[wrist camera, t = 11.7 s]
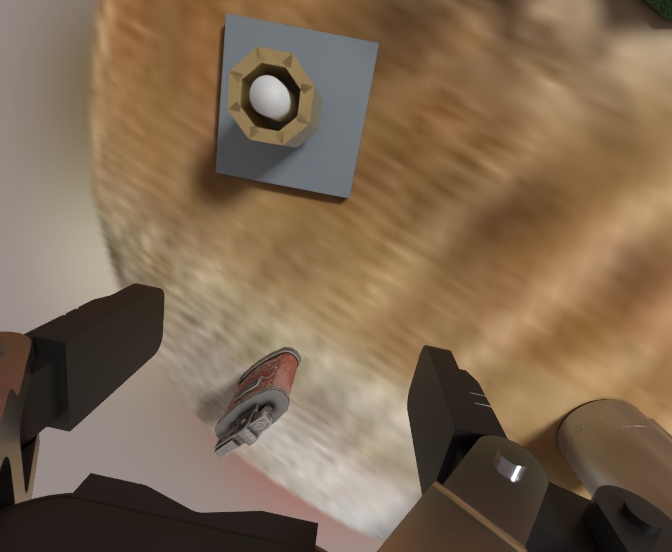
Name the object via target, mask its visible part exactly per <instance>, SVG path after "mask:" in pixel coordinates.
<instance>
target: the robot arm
mask: <svg viewBox="0 0 672 552" xmlns="http://www.w3.org/2000/svg"><path fill="white" fill-rule="evenodd" d="M163 318H164V292H163V290H162V289H160V288H156V287H151V286H146V285H142V284H137V283H135V284H132V285H130V286H128V287H126V288H124V289H122V290H120V291H118V292H117V293H115V294H113V295H110V296H106V297H103V298H98V299H94V300H92V301H90V302H88V303H86V304H84V305H82V306H80V307H79V308H78V309H74V310H72V311H70V312H68V313H66V315H62V316H60V317H58V318H56V319H54V320H52V321H50V322H48V323H46V324H44V325H42V326H40V327H38V328H36V329H34V330H32V331H30V332H28V333H26V334H20V333H15V332H0V552H327V551H326V550H324V549H322V548H321V547H319V546H317V545H315V544H316V536H317V528H318V523H314V522H309V521H305V520H300V519H296V518H291V517H287V516H282V515H278V514H273V513H269V512H264V511H246V512H214V513H199V512H195V511H192V510H190V509H188V508H187V507H185V506H183V505H181V504H179V503H177V502H175V501H174V500H172V499H170V498H168V497H166V496H165V495H163V494H161V493H159V492H157V491H155V490H153V489H152V488H150V487H148V486H146V485H142V484H137V483H133V482H128V481H124V480H119V479H114V478H110V477H105V476H101V475H96V474H92V473H90V475H89V476H88V477H87V478H86V479H85V480H84V481H83V482H82V484H81V485H80V486H79V487H78V488H77V489H76V490H75V491H74V492H73V493H64V494H56V495H49V496H44V497H39V498H35V499H32V492H33V485H34V479H35V472H36V465H37V458H38V451H39V445H40V440H39V432H41V431H42V430H43V429H44V428H45V427H52V428H56V429H61V430H65V431H71V430H72V429H73V428H74V427H75V426H76V425H78V424H79V423H80V422H81V421H82V420H83V419H84V418H85V417H86V416H88V415H89V414H90V413H91V412H92V411H93V410H94V409H95V408H96V407H97V406H99V405H100V404H101V403H102V402H103V401H104V400H105V399H106V398H107V397H108V396H110V394H112V393H113V392H114V391H115V390H116V389H117V388H118V387H120V386H121V385H122V384H123V383H124V382H125V381H126V380H127V379H128V378H129V377H130V376H132V375H133V374H134V373H135V372H136V371H137V370H138V369H139V368H141V367H142V366H143V365H144V364H145V363H146V362H147V361H148V360H149V359H151V358H152V357H153V356H154V355H155V354H156V352H157V351H158V349H159V347H160V344H161V341H162V337H163ZM484 395H485V394H484V392H483V390H482V389H481V387H480V385H479V383H478V382H477V381H476V380H475V379H474V378H473V377H472V376H471V375H470V374H469V373H468V372H467V371H466V370H461V369H459V368H458V365H457V363H456V361H455V359H454V357H453V355H452V352H451V351H450V350H446V349H441V348H436V347H431V346H427V345H425V346H424V347H423V348H422V351H421V353H420V357H419V360H418V363H417V366H416V370H415V373H414V376H413V379H412V383H411V386H410V389H409V394H408V402H407V410H408V416H409V422H410V427H411V433H412V439H413V445H414V451H415V456H416V462H417V468H418V474H419V479H420V485H421V491H422V497H421V498H420V500H419V501H418V502H417V503H416V504H415V506H414V507H413V508H412V509H411V511H410V512H409V513H408V514H407V515H406V517H405V518H404V519H403V520H402V522H401V523H400V524H399V525H398V526H397V528H396V529H395V530H394V531H393V532H392V534H391V535H390V536H389V537H388V539H387V540H386V541H385V542H384V543H383V545H382V546H381V547H380V548H379V550H378V551H377V552H672V436H671V435H670V434H669V433H668V432H667V431H666V430H665V429H663V428H662V427H661V426H660V425H659V424H658V423H657V422H656V421H654V420H653V419H649V418H647V417H646V416H645V415H644V414H643V413H642V412H641V411H640V410H638V409H637V408H636V407H634V406H633V405H631V404H629V403H626V402H624V401H619V400H599V401H594V402H591V403H588V404H585V405H583V406H581V407H579V408H578V409H576V410H575V411H573V412H572V413H571V414H570V415H569V416H568V417H567V418H566V419H565V420H564V421H563V423H562V424H561V426H560V428H559V431H558V435H557V443H558V447H559V449H560V451H561V453H562V455H563V456H564V457H565V459H566V460H567V462H568V463H569V465H570V466H571V468H572V469H573V471H574V472H575V473H576V475H577V476H578V478H579V479H580V481H581V482H582V484H583V485H584V487H585V488H586V490H587V491H588V493H589V494H590V496H591V497H592V499H591V501H590V500H588V499H586V498H584V497H582V496H579V495H577V494H575V493H573V492H570V491H568V490H566V489H564V488H561V487H559V486H557V485H555V484H553V483H551V482H549V478H548V474H547V472H546V470H545V468H544V467H543V465H542V464H541V462H540V461H539V460H538V459H537V458H536V457H535V456H534V455H533V454H532V453H530V452H529V451H528V450H526V449H525V448H524V447H522V446H520V445H519V444H517V443H515V442H513V441H511V440H509V439H508V438H507V437H506V435H505V433H504V431H503V429H502V427H501V425H500V423H499V421H498V419H497V417H496V415H495V413H494V412H493V410H492V408H490V404H489V402H488V400H487V398H486V397H484Z"/></svg>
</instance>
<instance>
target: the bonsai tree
mask: <svg viewBox="0 0 672 552" xmlns="http://www.w3.org/2000/svg"><path fill="white" fill-rule="evenodd" d="M644 1H645V2H646V3H647V4H648V5H650V6H651V7H652V8H653V9H654V10H655V11H657V12H658V13H659V14H660V15H661V16H663V17H664V18H665V19H666V20H672V0H644Z"/></svg>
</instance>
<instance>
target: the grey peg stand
mask: <svg viewBox="0 0 672 552" xmlns="http://www.w3.org/2000/svg"><path fill="white" fill-rule="evenodd" d="M256 47H262V48H268V49H274V50H279V51H285V52H291V53H293V54H294V56H295V57H296V59H297V60H298V62H299V63H300V65H301V66H302V68H303V69H304V71H305V72H306V74H307V75H308V77H309V78H310V80H311V81H312V83H313V84H314V86H315V88H316V89H317V91H318V92H319V94H320V96H321V97H322V99H323V105H322V113H321V120H320V127H319V131H318V132H316V133H315V134H314V135H313V136H311V137H310V138H309V139H307V140H306V141H305V142H304V143H302V144H301V145H300V146H299V147H290V146H283V145H277V144H271V143H266V142H260V141H254V140H249V139H248V137H247V136H246V134H245V133H244V132H243V130H242V129H241V128H240V126H239V125H238V124H237V122H236V121H235V119H234V118H233V117H232V115H231V114H230V113H229V111H228V110H227V106H228V89H229V72H230V70H231V69H232V68H233V67H235V66H236V65H237V64H238V63H239V62H240V61H241V60H242V59H243V58H245V57H246V56H247V55H248V54H249V53H250V52H251V51H252V50H253V49H255V48H256ZM378 47H379V43H376V42H371V41H366V40H360V39H355V38H350V37H345V36H340V35H335V34H330V33H325V32H319V31H314V30H309V29H304V28H299V27H294V26H289V25H284V24H279V23H273V22H268V21H263V20H258V19H253V18H248V17H243V16H238V15H232V14H227V13H226V24H225V38H224V53H223V68H222V83H221V98H220V112H219V127H218V142H217V157H216V172H215V173H220V174H225V175H230V176H235V177H240V178H246V179H251V180H256V181H261V182H266V183H272V184H277V185H282V186H287V187H292V188H298V189H303V190H308V191H313V192H318V193H324V194H329V195H334V196H339V197H344V198H350V193H351V188H352V182H353V177H354V172H355V167H356V161H357V156H358V151H359V146H360V141H361V135H362V130H363V125H364V120H365V115H366V109H367V104H368V99H369V94H370V88H371V83H372V78H373V73H374V68H375V62H376V57H377V52H378ZM300 91H301V89H300V88H299V86H298V85H294V84H288V83H283V82H280V81H279V80H278V79H277V78H275V77H273V76H269V75H264V76H261V77H259V78H257V79H256V80H255V81H254V82H253V84H252V86H251V88H250V101H251V104H252V106H253V107H254V109H255V110H256V111H257V112H258V113H260V114H262V115H264V117H265V118H266V120H267V121H268V122H269V124H270V125H271V127H272V128H273V129H274V130H275V131H280V130H281V129H282V128H283V127H285V126H286V125H287V124H288V123H290V122H291V121H292V120H293V119H295V118H296V117H297V116H298V108H299V99H300Z"/></svg>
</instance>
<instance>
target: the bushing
mask: <svg viewBox="0 0 672 552" xmlns="http://www.w3.org/2000/svg"><path fill="white" fill-rule="evenodd" d="M264 75H269V76H273V77H275V78H277V79H278V80H279V81H280V82H283V83H288V84H294V85H298V86H299V88H300V89H301V91H300V99H299V108H298V116H297V117H296V118H295V119H293V120H292V121H291V122H290V123H288V124H287V125H286V126H285V127H283V128H282V129H281V130H280V131H275V130H274V129H273V128H272V127H271V125H270V124H269V122H268V121H267V120H266V118H265V117H264V115H262V114H260V113H258V112H257V111H256V110H255V109H254V107H253V106H252V104H251V101H250V88H251V86H252V84H253V82H254V81H255V80H256V79H257V78H259V77H261V76H264ZM322 105H323V99H322V97H321V96H320V94H319V92H318V91H317V89H316V88H315V86H314V84H313V83H312V81H311V80H310V78H309V77H308V75H307V74H306V72H305V71H304V69H303V68H302V66H301V65H300V63H299V62H298V60H297V59H296V57H295V56H294V54H293V53H291V52H285V51H279V50H274V49H268V48H262V47H256V48H255V49H253V50H252V51H251V52H250V53H249V54H248V55H247V56H246V57H245V58H243V59H242V60H241V61H240V62H239V63H238V64H237V65H236V66H235V67H233V68H232V69H231V70H230V72H229V89H228V106H227V110H228V111H229V113H230V114H231V115H232V117H233V118H234V119H235V121H236V122H237V124H238V125H239V126H240V128H241V129H242V130H243V132H244V133H245V134H246V136H247V137H248V139H249V140H254V141H260V142H266V143H271V144H277V145H283V146H290V147H299V146H300V145H301V144H302V143H304V142H305V141H306V140H307V139H309V138H310V137H311V136H313V135H314V134H315V133H316V132H318V131H319V127H320V120H321V113H322Z"/></svg>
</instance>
